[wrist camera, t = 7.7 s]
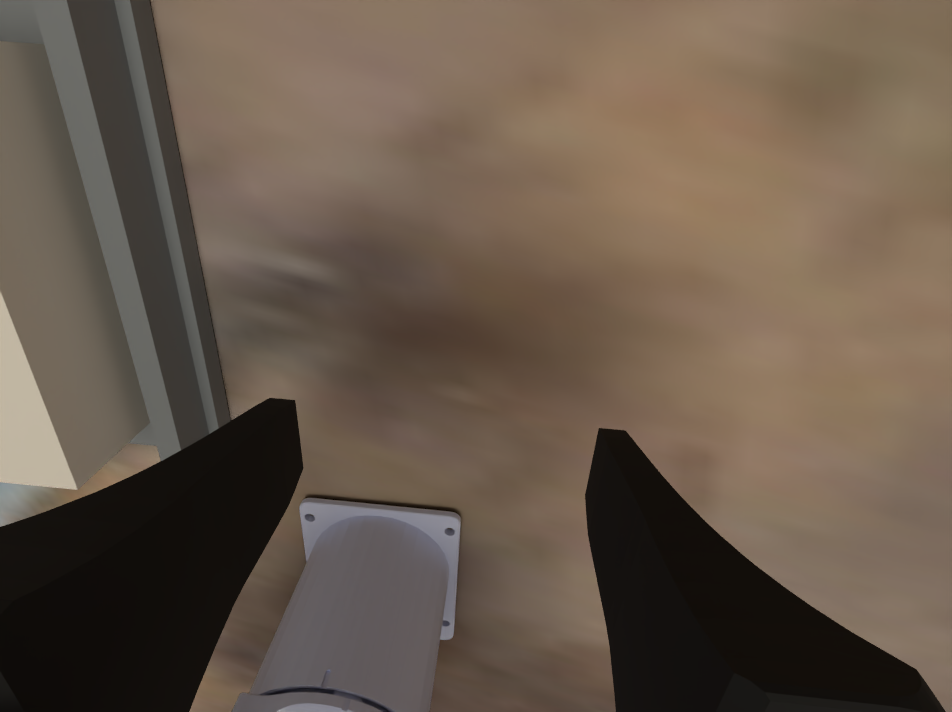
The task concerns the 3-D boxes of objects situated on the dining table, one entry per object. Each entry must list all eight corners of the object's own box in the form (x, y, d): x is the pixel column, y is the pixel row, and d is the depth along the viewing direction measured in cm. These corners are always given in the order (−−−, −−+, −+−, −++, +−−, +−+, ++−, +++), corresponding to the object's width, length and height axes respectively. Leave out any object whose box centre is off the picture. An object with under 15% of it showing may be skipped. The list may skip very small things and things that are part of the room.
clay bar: (161, 412, 23) (77, 489, 19) (95, 405, 23) (-3, 481, 19) (63, 45, 17) (-100, 34, 12) (-28, 39, 17) (-221, 26, 12)
